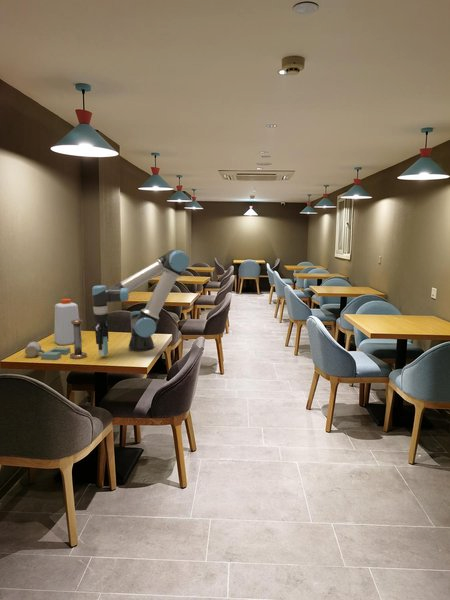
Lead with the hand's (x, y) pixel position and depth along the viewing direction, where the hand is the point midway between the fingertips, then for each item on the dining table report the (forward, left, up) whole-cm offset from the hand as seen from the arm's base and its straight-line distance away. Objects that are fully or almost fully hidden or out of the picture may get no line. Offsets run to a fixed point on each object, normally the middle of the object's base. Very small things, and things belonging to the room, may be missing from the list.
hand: (103, 353), depth 260 cm
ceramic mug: (+40, +3, -2) cm, 40 cm away
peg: (0, 0, 0) cm, 0 cm away
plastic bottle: (+37, -31, -2) cm, 48 cm away
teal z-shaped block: (+28, +1, -2) cm, 29 cm away
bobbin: (+14, +1, -2) cm, 15 cm away
